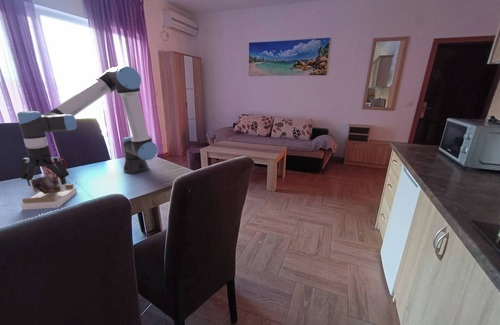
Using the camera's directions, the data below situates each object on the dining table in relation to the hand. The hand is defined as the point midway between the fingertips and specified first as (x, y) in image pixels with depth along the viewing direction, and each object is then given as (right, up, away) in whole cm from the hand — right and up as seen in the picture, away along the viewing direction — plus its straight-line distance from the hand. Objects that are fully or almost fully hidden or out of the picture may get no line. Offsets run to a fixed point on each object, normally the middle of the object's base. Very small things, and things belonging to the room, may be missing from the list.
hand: (49, 191), depth 107 cm
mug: (-19, +3, +26) cm, 32 cm away
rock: (-1, -1, 0) cm, 1 cm away
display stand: (0, -5, +1) cm, 5 cm away
